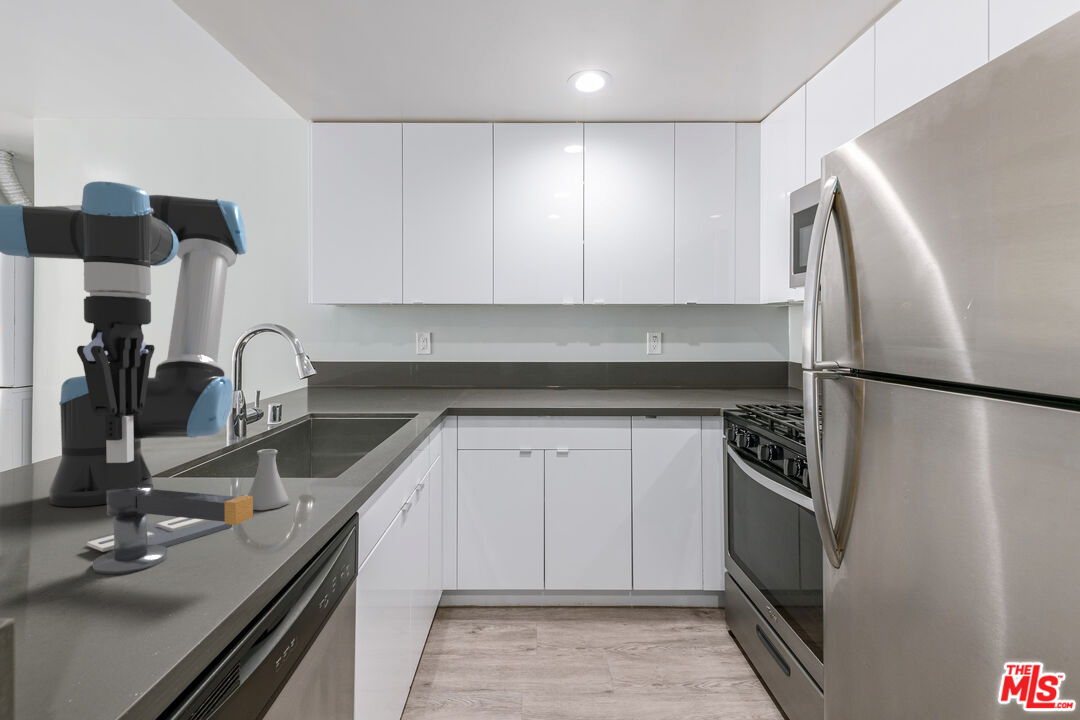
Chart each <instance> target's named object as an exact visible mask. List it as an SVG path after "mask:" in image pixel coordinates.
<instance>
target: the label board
mask: <svg viewBox="0 0 1080 720" xmlns="http://www.w3.org/2000/svg"><path fill="white" fill-rule="evenodd" d="M232 527H233V525H231V524H225V522H223V521H213V520H203V519H193V518H183V517H173V516H172V517H170V518H167V519H166V518H165V519H162V520H158V521H156V522H155V521H154V522H151V523H147V538H148V545H149V546H148V547H150V546H151V545H160V546H164V547H166V548H169V547H171V546H174V545H178V544H180V543H184V542H188V541H191V540H194V539H198V538H200V537H204V536H207V535H210V534H214V533H216V532H221V531H223V530H227V529H229V528H232ZM86 546H87V547H89V548H92V549H95V550H97V551H99V552H102V553H103V552H104V553H105V552H106V553H109V552H111V551H114V532H113V533H110V534H105V535H101V536H98V537H94V538H90V539H89V540H88V541H87V542H86Z"/></svg>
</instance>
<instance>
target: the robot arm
mask: <svg viewBox="0 0 1080 720" xmlns="http://www.w3.org/2000/svg"><path fill="white" fill-rule="evenodd" d="M246 252H247V239H246V230H245V223H244V218H243V215H242V212H241V208H240V207H239V206H238V204H237V203H235V202H233V201H228V200H222V199H221V200H220V199H219V198H215V199H207V198H206V199H205V198H198V197H197V198H196V197H186V196H185V197H184V196H175V195H174V196H173V195H162V194H150V195H149V194H148V192H147V191H146V190H144V189H142V188H140V187H138V186H135V185H130V184H126V183H119V182H112V181H103V180H102V181H91V182H88V183H86V184H85V185H84V186H83V189H82V201H81V204H75V205H74V204H72V205H70V204H69V205H55V206H53V205H52V206H47V205H46V206H34V205H23V204H17V205H16V204H0V253H1V254H3V255H5V256H15V257H23V258H24V257H25V258H26V259H31V258H40V259H41V258H43V259H44V258H45V259H67V260H83V261H82V262H83V291H85V292H86V293H89V295H88V296H85V297H84V298H83V320H84V322H85V323H87V324H92V325H93V328H92V332H91V334H90V335H91V336H90V338H91V341H90V342H89V343H88V344H87V345H79V346H77V348H76V352H77V355H78V356H79V358H80V361H81V362H82V365H83V370H84V375H81V376H75V377H70V378H68V379H66V380H65V381H64V382H63V383H62V384H61V392H60V401H59V406H60V407H59V408H60V434H61V435H60V436H61V440H60V441H61V460H60V462H59V465H58V468H57V470H56V473H55V476H54V477H53V480H52V483H51V485H50V487H49V504H51V505H52V506H58V507H71V508H72V507H90V506H100V505H107V490H109V489H111V488H114V487H117V486H122V485H128V484H140V483H145V484H152V485H153V477H152V474H151V472H150V469H149V466H148V464H147V462H146V460H145V457H144V456H143V452H142V439H162V438H163V439H164V438H165V439H167V438H168V439H169V438H191V439H192V438H193V439H194V438H197V437H207V436H208V437H210V436H214V435H217V434H218V433H220V432H222V430H223V429H224V427H225V425H226V423H227V422H228V419H229V416H230V412H231V408H232V402H233V390H234V389H233V383H232V381H231V379H230V378H229V377H227V376H225V373H226V372H225V370H224V368H222V367H221V366H220V365H219V364H218V359H219V347H220V339H221V332H222V330H221V328H222V322H223V311H224V303H225V294H226V285H227V284H226V283H227V275H228V268H230V267H233V265H234V264H235V263H236V262H237V256H238V255H239V256H241V255H244V254H246ZM175 257H177V258H179V260H181V262H180V267H179V268H180V270H179V274H178V281H177V288H176V297H175V303H174V309H173V317H172V324H171V331H170V338H169V345H168V350H167V352H168V353H167V358H166V359H165V360H163V361H162V362H161V363H158V365H157V366H156V367H155V373H154V374H155V375H154V377H149V375H150V369H151V362H152V361H151V360H152V358H153V355H154V351H155V345H154V344H146V343H145V341H144V338H145V337H144V333H143V329H142V326H143V325H144V326H145V325H150V324H151V322H152V302H151V301H150V299H148V298H147V296H151V295H152V281H151V279H152V277H151V266H152V267H157V266H158V267H159V266H163V265H166V264H168V263H170V262H171V261H172V260H173V259H174V258H175Z"/></svg>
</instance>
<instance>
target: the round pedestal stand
mask: <svg viewBox="0 0 1080 720" xmlns="http://www.w3.org/2000/svg"><path fill="white" fill-rule="evenodd" d="M147 524H148V514H143V513H141V514H137V515H131V516H122V517H113V533H114V551H111V552H109V553H108V552H106V553H104V554H102V555H100V556H98V557H97V558H95V559H94V560H93V562H92V571H93V572H94V573H95V574H98V575H105V576H106V575H108V576H109V575H111V576H113V575H123V574H129V573H130V574H131V573H134V572H139V571H143V570H145V569H149V568H151V567H154V566H156V565H159V564H160V563H162V562H164V561H165V560H166V559H167V558H168V549H167V548H168V547H164V546H160V545H151V546H150V547H148V546H149V545H148V538H147Z"/></svg>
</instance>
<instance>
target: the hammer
mask: <svg viewBox="0 0 1080 720" xmlns="http://www.w3.org/2000/svg"><path fill="white" fill-rule="evenodd" d="M141 513H143V514H147V515H154V516H166V517H172V518H173V517H183V518H193V519H203V520H213V521H223V522H225V524H231V525H232V526H236V525H237V526H238V524H241V523H244V522H246V521H249V520H250V519H253V518H254V510H253V496H248V495H244V494H242V495H239V496H233V495H232V496H231V495H223V494H222V495H221V494H210V493H198V492H189V491H188V492H187V491H176V490H165V489H154V485H153V483H152V484H145V483H140V484H128V485H122V486H117V487H114V488H111V489H109V490H107V504H106V516H109V517H113V518H114V517H122V516H131V515H137V514H141Z"/></svg>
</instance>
